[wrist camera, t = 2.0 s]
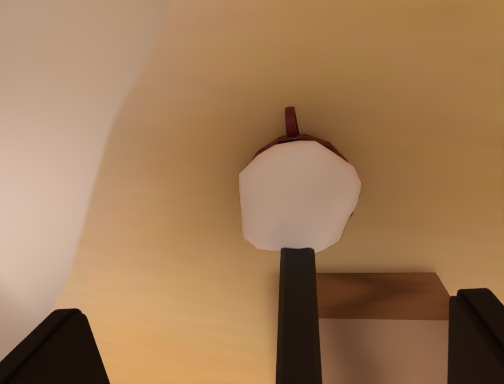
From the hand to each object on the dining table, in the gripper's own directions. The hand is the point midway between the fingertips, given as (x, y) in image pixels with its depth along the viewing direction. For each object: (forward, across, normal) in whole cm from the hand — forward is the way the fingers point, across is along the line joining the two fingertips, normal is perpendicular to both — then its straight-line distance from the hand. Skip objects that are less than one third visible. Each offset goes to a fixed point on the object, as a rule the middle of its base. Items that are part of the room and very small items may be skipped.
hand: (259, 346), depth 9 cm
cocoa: (+15, -1, 0) cm, 15 cm away
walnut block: (+15, -4, +12) cm, 19 cm away
